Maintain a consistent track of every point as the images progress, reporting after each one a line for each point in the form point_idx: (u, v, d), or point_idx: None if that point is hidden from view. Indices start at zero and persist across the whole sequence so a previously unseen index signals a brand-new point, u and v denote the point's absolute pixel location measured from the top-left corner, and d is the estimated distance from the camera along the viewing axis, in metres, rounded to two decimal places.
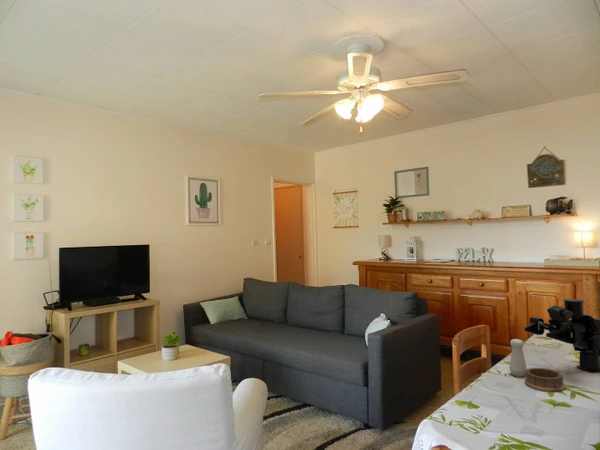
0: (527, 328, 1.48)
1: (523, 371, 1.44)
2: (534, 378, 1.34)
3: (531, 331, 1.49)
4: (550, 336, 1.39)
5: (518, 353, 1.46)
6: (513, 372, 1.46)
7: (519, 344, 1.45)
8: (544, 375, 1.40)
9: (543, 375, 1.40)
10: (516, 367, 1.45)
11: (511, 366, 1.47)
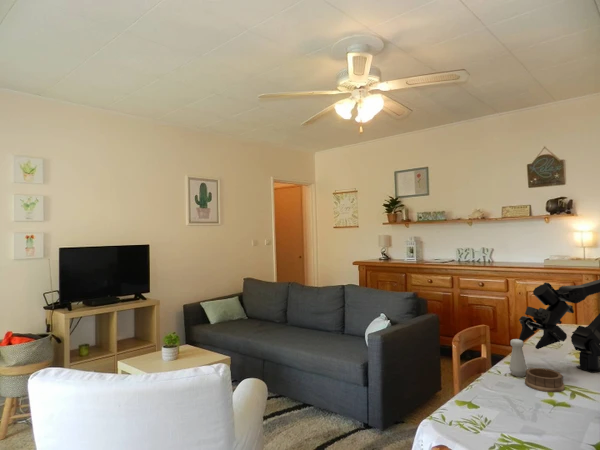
0: (521, 339, 1.52)
1: (523, 371, 1.44)
2: (534, 378, 1.34)
3: (526, 337, 1.53)
4: (540, 347, 1.43)
5: (518, 353, 1.46)
6: (513, 372, 1.46)
7: (519, 344, 1.45)
8: (544, 375, 1.40)
9: (543, 375, 1.40)
10: (516, 367, 1.45)
11: (511, 366, 1.47)
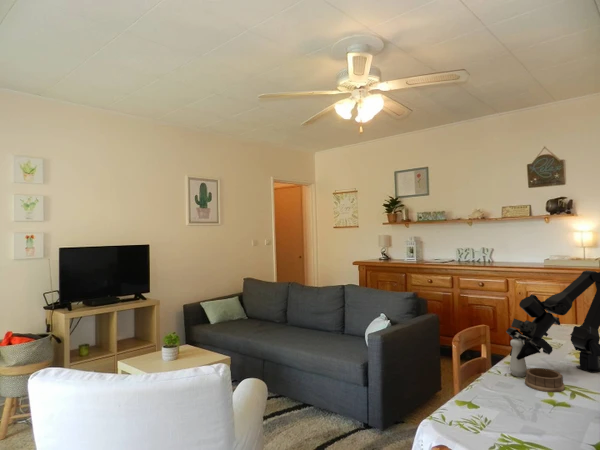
0: None
1: (523, 371, 1.44)
2: (534, 378, 1.34)
3: None
4: (521, 357, 1.45)
5: (518, 353, 1.46)
6: (513, 372, 1.46)
7: (519, 344, 1.45)
8: (544, 375, 1.40)
9: (543, 375, 1.40)
10: (516, 366, 1.45)
11: (511, 366, 1.47)
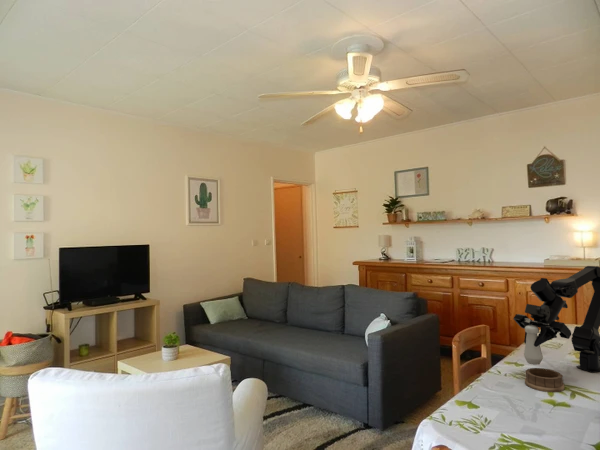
0: None
1: (540, 358, 1.37)
2: (534, 378, 1.34)
3: None
4: (538, 344, 1.38)
5: (534, 340, 1.38)
6: (530, 360, 1.39)
7: (536, 330, 1.38)
8: (544, 375, 1.40)
9: (543, 375, 1.40)
10: (534, 354, 1.38)
11: (527, 354, 1.39)
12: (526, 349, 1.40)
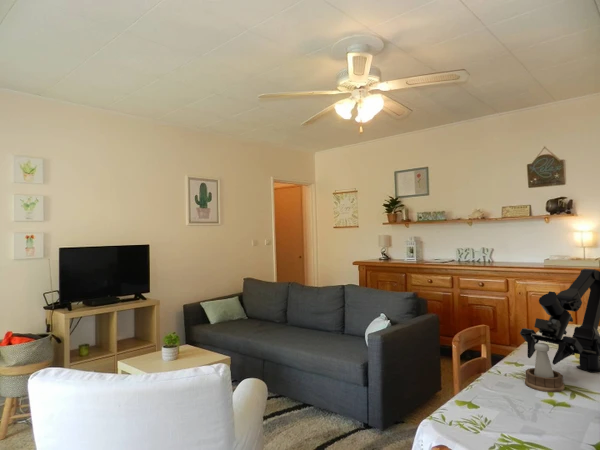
0: (529, 354, 1.40)
1: (552, 377, 1.34)
2: (534, 378, 1.34)
3: (533, 352, 1.41)
4: (556, 362, 1.32)
5: (545, 358, 1.35)
6: None
7: (547, 348, 1.35)
8: None
9: None
10: (546, 373, 1.34)
11: (539, 373, 1.35)
12: (537, 368, 1.36)
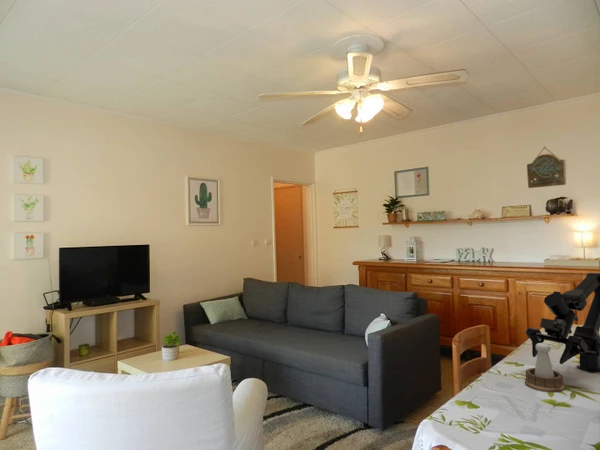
0: (534, 353, 1.42)
1: (552, 377, 1.34)
2: (534, 378, 1.34)
3: (537, 351, 1.43)
4: (563, 361, 1.34)
5: (546, 358, 1.35)
6: None
7: (548, 348, 1.35)
8: None
9: None
10: (546, 373, 1.34)
11: (539, 373, 1.35)
12: (537, 368, 1.36)
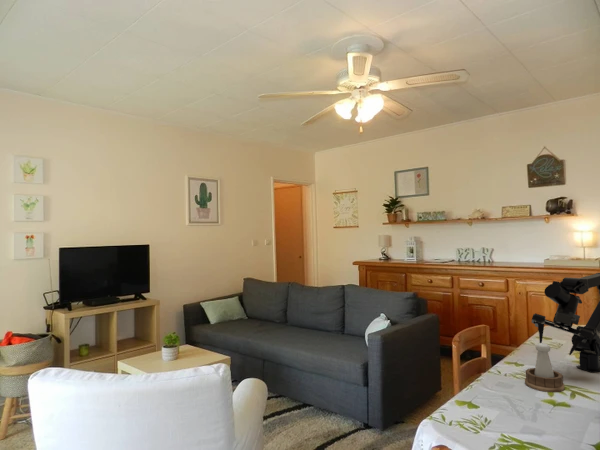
0: (541, 341, 1.45)
1: (552, 377, 1.34)
2: (534, 378, 1.34)
3: None
4: (572, 352, 1.40)
5: (546, 358, 1.35)
6: None
7: (548, 348, 1.35)
8: None
9: None
10: (546, 373, 1.34)
11: (539, 373, 1.35)
12: (537, 368, 1.36)
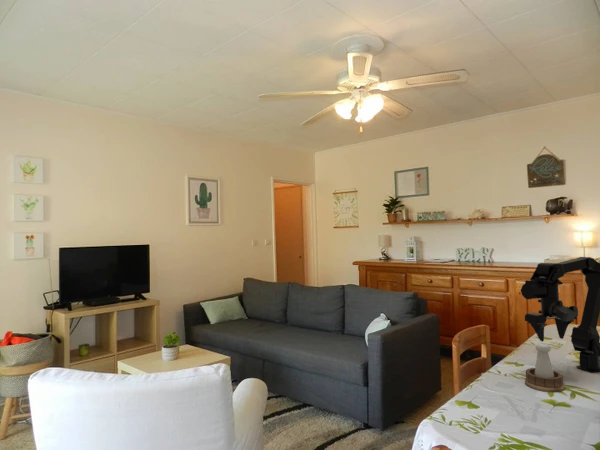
0: None
1: (552, 377, 1.34)
2: (534, 378, 1.34)
3: None
4: None
5: (546, 358, 1.35)
6: None
7: (548, 348, 1.35)
8: None
9: None
10: (546, 373, 1.34)
11: (539, 373, 1.35)
12: (537, 368, 1.36)
